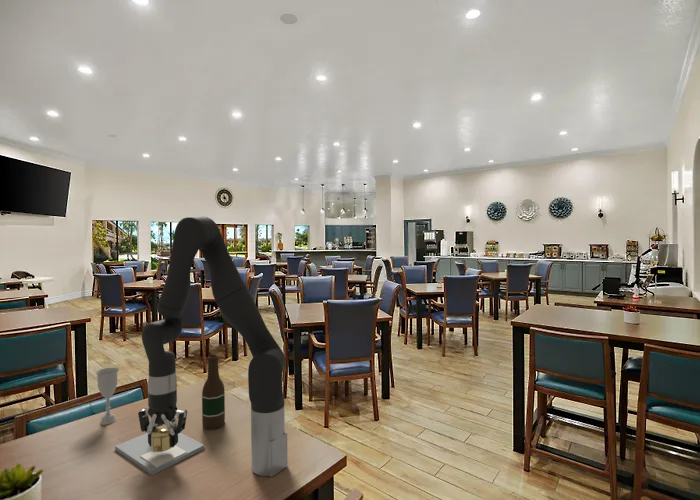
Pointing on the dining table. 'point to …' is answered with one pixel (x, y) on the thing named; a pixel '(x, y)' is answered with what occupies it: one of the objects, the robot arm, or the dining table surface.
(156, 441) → the cap
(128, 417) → the dining table surface
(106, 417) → the chalice
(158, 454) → the board
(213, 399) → the beer bottle
